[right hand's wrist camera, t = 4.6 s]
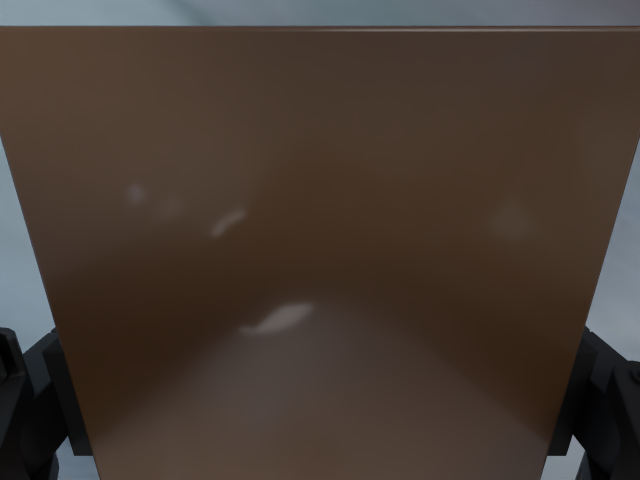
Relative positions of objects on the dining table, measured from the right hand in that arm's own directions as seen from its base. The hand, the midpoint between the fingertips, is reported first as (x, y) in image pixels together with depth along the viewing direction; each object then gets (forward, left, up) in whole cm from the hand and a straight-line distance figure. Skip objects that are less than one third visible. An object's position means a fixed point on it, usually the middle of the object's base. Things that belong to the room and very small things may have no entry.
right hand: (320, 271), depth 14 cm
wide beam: (-16, +18, -1) cm, 24 cm away
